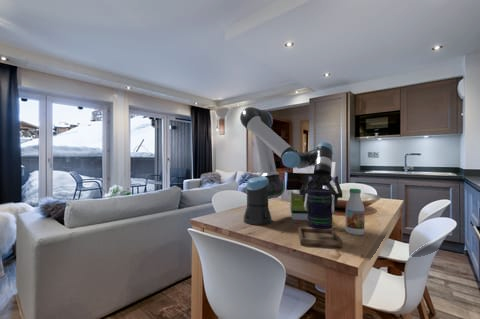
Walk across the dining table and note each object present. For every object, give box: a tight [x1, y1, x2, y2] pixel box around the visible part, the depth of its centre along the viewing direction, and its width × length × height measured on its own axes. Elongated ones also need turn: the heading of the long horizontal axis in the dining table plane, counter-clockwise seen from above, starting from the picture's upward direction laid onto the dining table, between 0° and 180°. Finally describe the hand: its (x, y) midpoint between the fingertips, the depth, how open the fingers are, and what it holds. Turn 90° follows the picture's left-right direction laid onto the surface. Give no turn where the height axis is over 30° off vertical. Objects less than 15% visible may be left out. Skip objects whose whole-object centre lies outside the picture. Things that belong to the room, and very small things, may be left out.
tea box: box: [289, 189, 308, 221], centre depth 131 cm, size 15×10×15 cm
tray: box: [297, 226, 343, 249], centre depth 94 cm, size 15×15×2 cm
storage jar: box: [307, 187, 333, 230], centre depth 94 cm, size 10×10×15 cm
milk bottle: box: [345, 188, 366, 236], centre depth 103 cm, size 8×8×20 cm
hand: (318, 209), depth 91 cm, fingers closed on storage jar, 10 cm apart
